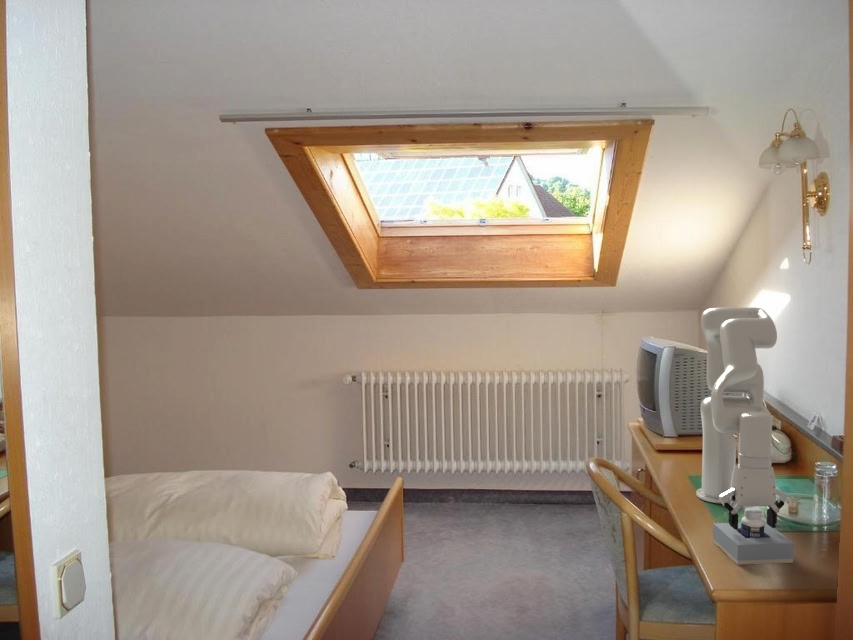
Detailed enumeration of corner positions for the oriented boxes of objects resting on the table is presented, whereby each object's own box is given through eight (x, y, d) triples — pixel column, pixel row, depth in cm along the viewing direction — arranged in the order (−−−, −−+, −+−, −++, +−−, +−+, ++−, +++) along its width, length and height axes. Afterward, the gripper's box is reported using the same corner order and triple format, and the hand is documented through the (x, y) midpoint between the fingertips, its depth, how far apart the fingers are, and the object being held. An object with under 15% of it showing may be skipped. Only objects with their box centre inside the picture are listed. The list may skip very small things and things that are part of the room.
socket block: (712, 541, 196) (713, 523, 195) (764, 540, 197) (765, 521, 196) (737, 564, 182) (737, 545, 181) (793, 562, 183) (793, 543, 182)
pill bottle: (750, 553, 186) (750, 515, 185) (736, 544, 191) (736, 508, 190) (768, 550, 187) (769, 513, 186) (754, 542, 193) (755, 505, 192)
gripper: (780, 455, 191) (778, 520, 193) (714, 457, 190) (712, 522, 192) (796, 464, 183) (793, 531, 185) (727, 466, 183) (725, 533, 184)
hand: (752, 526), depth 189 cm, fingers open, 9 cm apart
